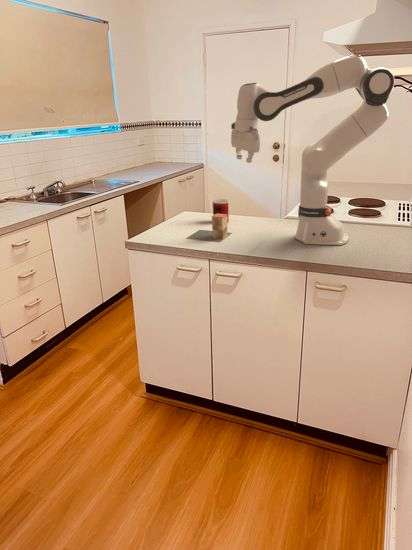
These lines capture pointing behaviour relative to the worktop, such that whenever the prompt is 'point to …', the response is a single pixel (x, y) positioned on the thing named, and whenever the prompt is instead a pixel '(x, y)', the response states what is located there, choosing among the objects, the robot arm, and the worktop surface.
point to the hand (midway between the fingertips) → (243, 160)
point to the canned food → (221, 207)
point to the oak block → (219, 226)
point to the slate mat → (205, 236)
